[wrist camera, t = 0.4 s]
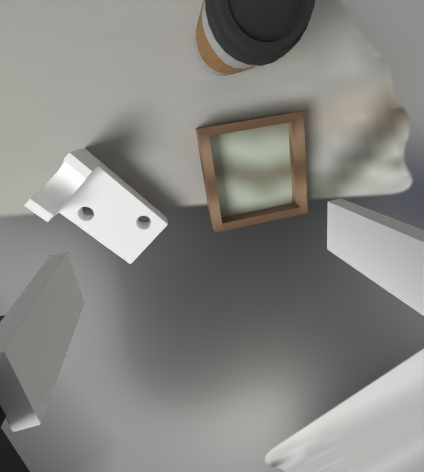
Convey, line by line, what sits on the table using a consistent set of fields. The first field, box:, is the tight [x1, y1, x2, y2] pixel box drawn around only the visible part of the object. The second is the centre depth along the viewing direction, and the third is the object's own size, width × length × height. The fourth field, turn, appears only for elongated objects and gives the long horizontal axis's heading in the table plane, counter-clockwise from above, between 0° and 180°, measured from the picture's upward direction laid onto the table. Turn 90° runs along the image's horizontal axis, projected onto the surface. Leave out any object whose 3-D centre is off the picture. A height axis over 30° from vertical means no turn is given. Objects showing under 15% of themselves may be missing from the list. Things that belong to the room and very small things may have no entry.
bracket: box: [24, 148, 168, 264], centre depth 35 cm, size 13×7×8 cm, turn 46°
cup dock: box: [196, 111, 308, 232], centre depth 39 cm, size 13×13×3 cm
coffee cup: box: [195, 0, 315, 76], centre depth 28 cm, size 8×8×15 cm
